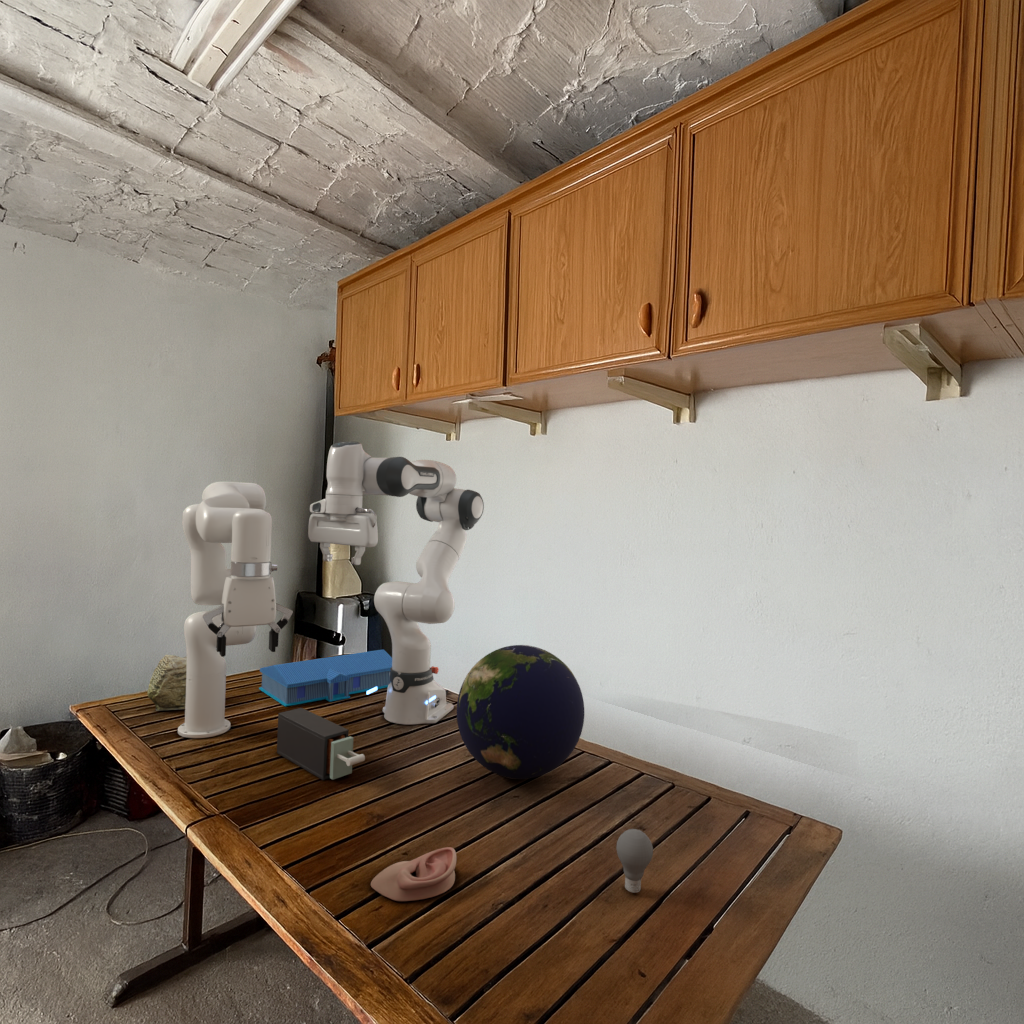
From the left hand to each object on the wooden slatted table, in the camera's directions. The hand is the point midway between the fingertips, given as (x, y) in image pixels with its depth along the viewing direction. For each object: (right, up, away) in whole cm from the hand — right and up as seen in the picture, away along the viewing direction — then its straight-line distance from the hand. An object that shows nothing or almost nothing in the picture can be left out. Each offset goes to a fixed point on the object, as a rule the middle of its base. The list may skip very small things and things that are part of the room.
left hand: (247, 652), depth 131 cm
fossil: (-41, -28, +54) cm, 74 cm away
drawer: (+11, -30, +16) cm, 36 cm away
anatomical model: (+38, -33, -25) cm, 56 cm away
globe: (+56, -33, +18) cm, 67 cm away
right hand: (+13, +16, +25) cm, 33 cm away
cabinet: (+7, -30, +20) cm, 37 cm away
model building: (-4, -29, +77) cm, 82 cm away
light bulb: (+75, -34, -25) cm, 86 cm away
